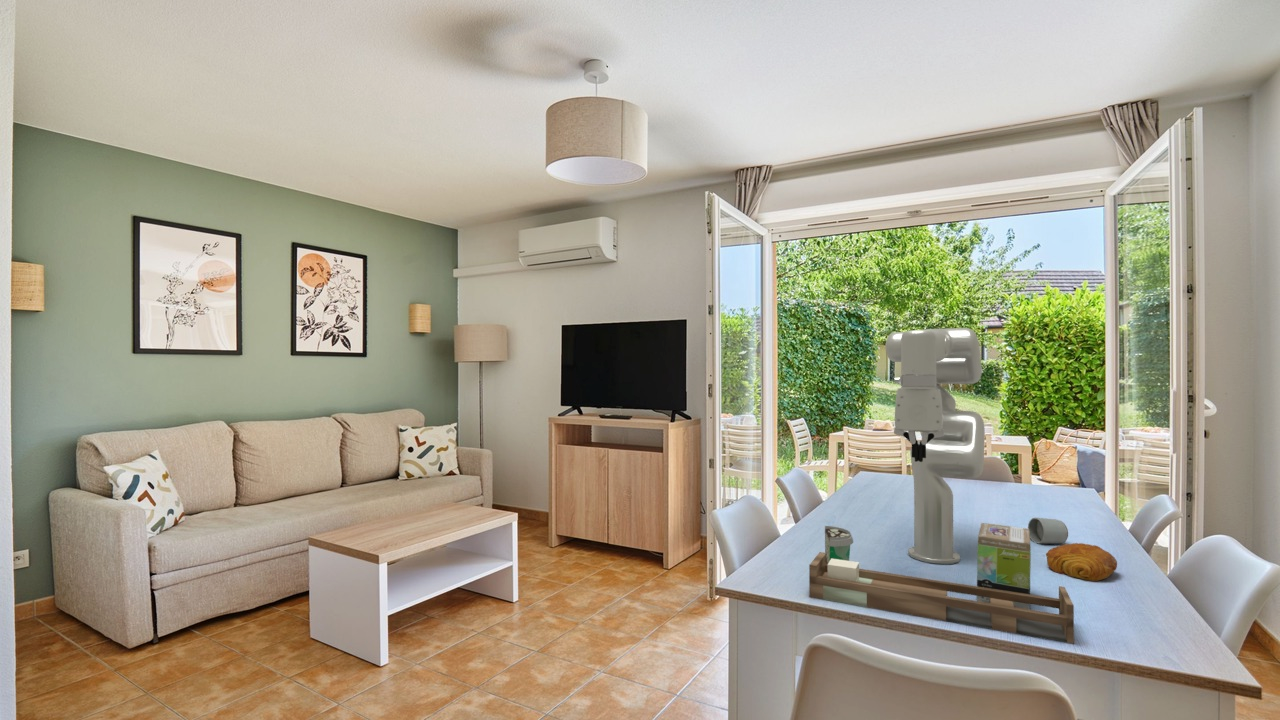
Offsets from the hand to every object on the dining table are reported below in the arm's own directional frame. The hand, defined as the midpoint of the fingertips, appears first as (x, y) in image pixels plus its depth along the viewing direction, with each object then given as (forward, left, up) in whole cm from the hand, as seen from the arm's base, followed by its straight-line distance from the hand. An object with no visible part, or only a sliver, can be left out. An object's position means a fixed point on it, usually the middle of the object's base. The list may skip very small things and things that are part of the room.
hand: (918, 460), depth 142 cm
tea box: (-1, +17, -29) cm, 34 cm away
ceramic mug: (-59, +30, -29) cm, 73 cm away
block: (+15, -15, -26) cm, 33 cm away
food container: (-1, -18, -29) cm, 34 cm away
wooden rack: (+14, +3, -29) cm, 32 cm away
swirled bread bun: (-31, +35, -30) cm, 56 cm away
